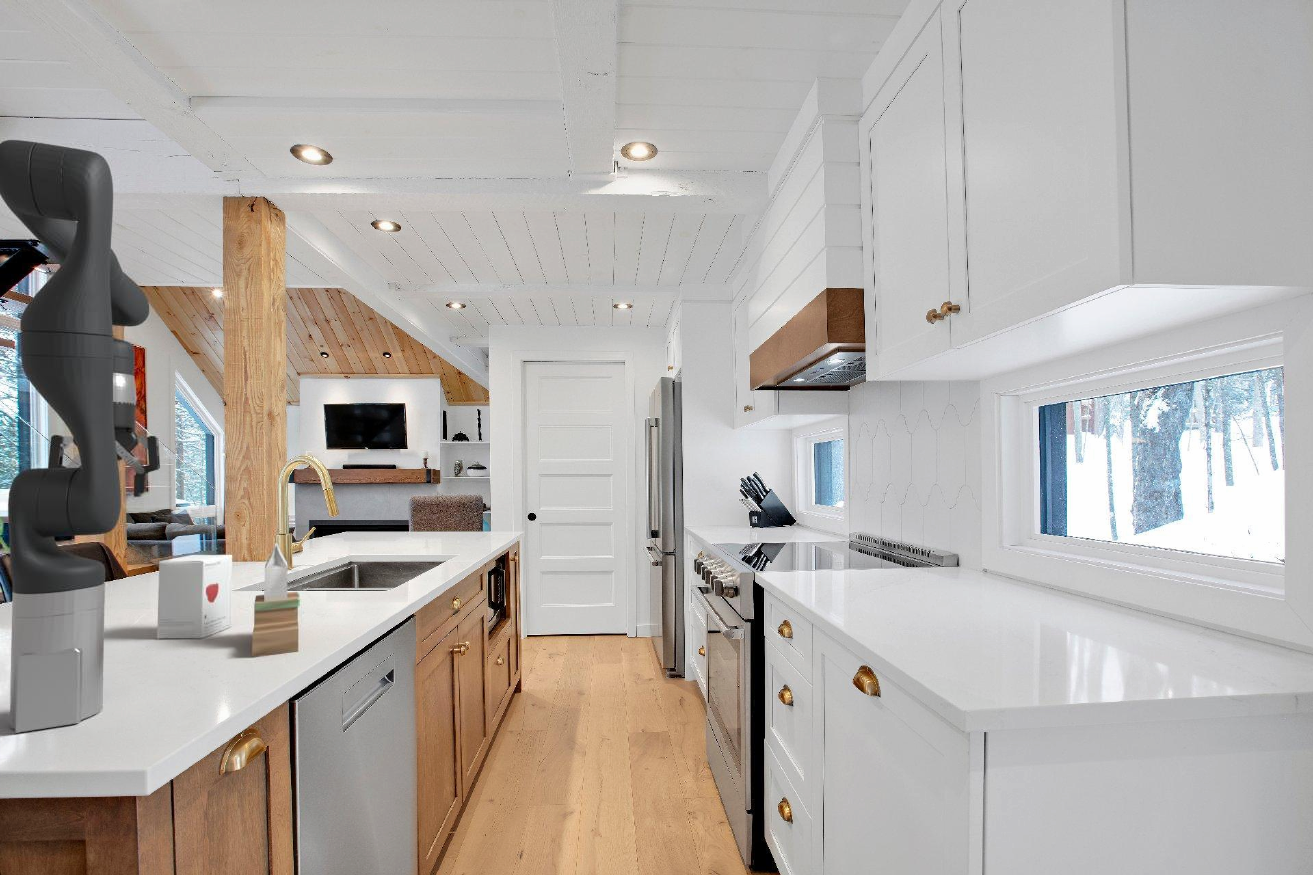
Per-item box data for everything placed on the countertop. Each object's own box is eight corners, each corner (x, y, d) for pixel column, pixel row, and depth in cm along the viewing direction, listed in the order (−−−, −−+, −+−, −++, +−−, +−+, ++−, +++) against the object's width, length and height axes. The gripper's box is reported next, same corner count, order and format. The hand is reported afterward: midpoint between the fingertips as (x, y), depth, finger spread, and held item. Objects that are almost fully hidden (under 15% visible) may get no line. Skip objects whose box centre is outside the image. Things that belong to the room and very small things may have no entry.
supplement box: (201, 639, 126) (203, 560, 127) (155, 639, 126) (156, 561, 127) (233, 627, 135) (233, 553, 136) (189, 627, 135) (190, 554, 136)
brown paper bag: (300, 650, 118) (300, 605, 118) (252, 657, 114) (252, 610, 115) (298, 631, 131) (298, 591, 131) (255, 637, 127) (256, 595, 128)
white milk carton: (286, 593, 130) (287, 542, 130) (287, 599, 124) (287, 545, 124) (265, 595, 128) (265, 543, 128) (264, 601, 122) (264, 547, 122)
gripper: (44, 397, 104) (42, 500, 104) (156, 400, 111) (154, 497, 111) (58, 401, 111) (56, 498, 110) (163, 404, 118) (161, 495, 117)
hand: (105, 497), depth 111 cm, fingers open, 8 cm apart
